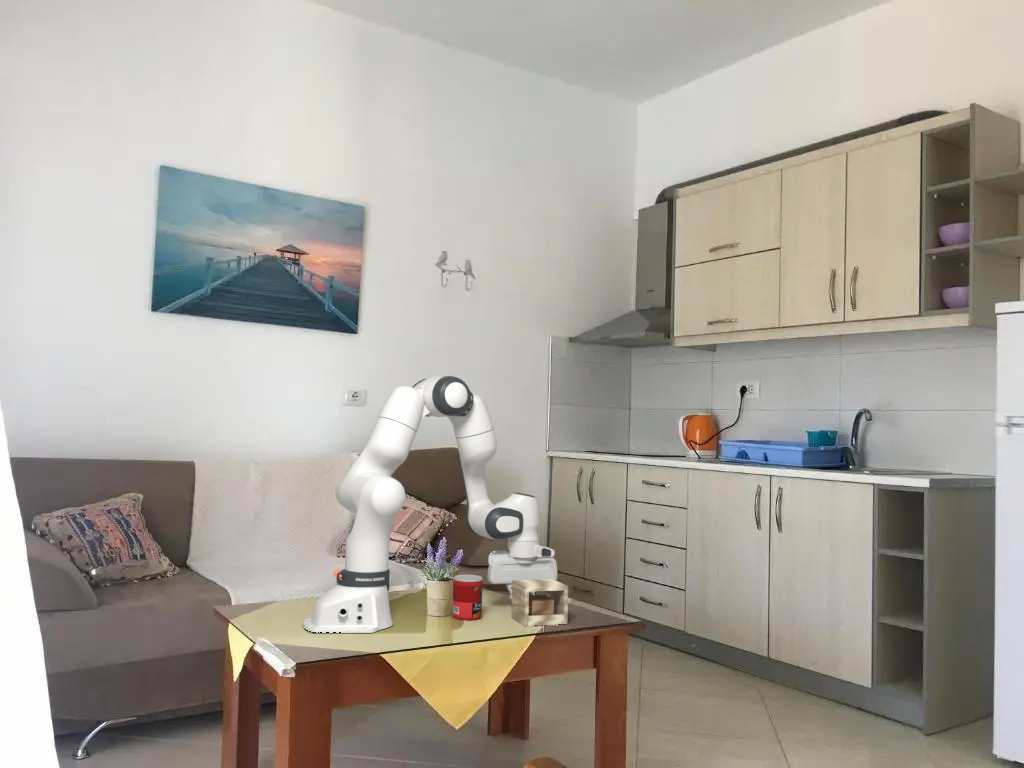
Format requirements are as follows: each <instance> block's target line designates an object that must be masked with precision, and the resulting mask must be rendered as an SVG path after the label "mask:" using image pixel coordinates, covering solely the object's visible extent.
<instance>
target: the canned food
mask: <svg viewBox="0 0 1024 768" xmlns="http://www.w3.org/2000/svg"><path fill="white" fill-rule="evenodd" d="M482 611H483V576H481V575H476V574H456V576H454V581H453V592H452V618H453V619H454V618H455V619H454V620H457V619H458V620H457V621H462V620H466V621H465V622H473V620H474V621H478V619H479V620H480V619H481V618H482Z"/></svg>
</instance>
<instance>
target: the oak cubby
mask: <svg viewBox="0 0 1024 768" xmlns="http://www.w3.org/2000/svg"><path fill="white" fill-rule="evenodd" d="M511 589H512V600H511V617H512V618H511V619H513V620H514V619H515V622H517V621H518V622H517V623H518V624H520V623H521V624H522V625H521V624H520V625H521V626H523V625H524V626H527V627H536V626H535V625H547V626H559V625H558V624H567V625H568V618H569V617H568V614H569V613H568V610H569V586H568V585H567V584H564V583H562V582H560V581H558V580H557V579H556V580H554V579H543V580H512V587H511ZM530 591H535V592H549V597H550V598H552V599H553V600H554V611H553V615H536V616H528V613H529V592H530ZM555 624H556V625H555ZM524 626H523V627H524Z"/></svg>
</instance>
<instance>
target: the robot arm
mask: <svg viewBox="0 0 1024 768" xmlns="http://www.w3.org/2000/svg"><path fill="white" fill-rule="evenodd" d="M425 417H435V418H444V417H447V419H449V421H450V423H451V425H452V426H453V432H454V437H455V442H456V444H457V449H458V450H457V451H458V454H459V458H460V459H459V460H460V465H461V466H460V467H461V474H462V479H463V486H464V491H465V497H466V511H465V517H464V519H465V525H466V528H467V530H468V531H469V532H470V533H471V534H472V535H473V536H475V537H481V538H487V539H491V540H495V541H496V540H497V541H500V540H506V539H507V549H505V550H504V549H503V550H498V549H497V550H495V549H494V550H493V551H492V552H491V551H490V553H489V554H488V555H487V564H488V567H487V568H488V570H487V576H486V577H487V581H488V582H489V584H492V585H505V587H506V589H507V590H508V592H509V599H510V600H511V601H512V580H543V579H554V580H556V581H557V579H558V566H557V565H558V564H557V561H556V559H555V554H556V552H555V549H553V548H551V547H548V546H546V545H545V544H544V545H543V544H540V543H539V542H540V540H539V539H540V537H539V533H538V531H539V530H538V529H539V526H540V507H539V505H540V504H539V501H538V499H537V498H536V496H534V495H532V494H528V493H522V492H512V493H511V495H509V497H507V498H505V499H503V500H502V501H500V502H497V503H495V504H494V503H493V502H492V501H491V500H490V498H489V494H488V488H487V483H486V476H485V470H486V467H487V465H488V464H489V462H490V461H492V459H493V458H494V456H495V455H496V453H497V447H498V445H497V436H496V432H495V429H494V424H493V420H492V417H491V414H490V411H489V409H488V407H487V404H486V402H485V400H484V398H483V397H482V396H481V395H478V394H475V393H473V392H472V391H471V390H470V388H469V386H468V384H466V382H465V380H463V379H461V378H460V377H456V376H453V375H446V376H439V375H438V376H432V377H429V378H423V379H421V380H419V381H417V382H416V383H415V384H414V385H412V386H410V385H400V386H396V387H394V389H393V390H392V391H391V392H390V394H389V395H388V397H387V399H386V400H385V402H384V404H383V406H382V408H381V409H380V411H379V414H378V416H377V419H376V421H375V423H374V426H373V428H372V431H371V433H370V436H369V437H368V440H367V442H366V444H365V446H364V447H363V449H362V451H361V452H360V453H359V455H358V457H357V459H356V460H355V462H354V463H353V464H352V465H351V467H350V469H349V470H348V471H347V472H346V473H345V474H344V475H343V476H342V477H341V478H339V480H338V482H337V484H336V486H335V497H336V500H337V502H338V503H339V504H340V505H341V506H342V507H343V508H344V509H346V510H347V511H348V512H351V513H354V514H355V518H354V522H353V526H352V528H351V531H350V533H349V534H348V536H347V537H346V539H345V560H344V561H345V562H344V563H345V564H344V569H342V570H340V569H339V568H335V570H333V575H334V577H335V578H336V585H334V586H333V587H332V588H330V589H329V590H328V591H326V592H324V594H322V595H321V596H320V597H319V598H317V600H316V601H315V603H314V607H313V609H312V610H313V611H312V616H311V617H307V618H305V619H304V620H303V624H302V626H304V627H303V629H304V628H305V629H306V630H308V631H307V632H309V631H311V632H310V633H312V632H316V633H315V634H327V633H326V632H329V633H328V634H334V633H333V632H336V633H335V634H368V633H369V634H370V633H371V634H372V633H376V632H378V631H380V630H384V629H388V628H390V627H392V626H393V625H394V622H393V619H392V618H393V617H392V614H391V607H390V599H389V596H390V595H389V591H390V587H391V569H389V560H390V542H391V536H392V530H393V528H394V525H395V524H394V523H395V521H396V517H397V515H398V513H399V512H401V510H402V508H403V507H404V504H405V501H406V491H405V488H404V486H403V484H402V483H401V482H400V481H399V480H397V479H396V478H394V477H393V474H394V473H395V471H396V470H397V469H398V468H399V467H400V466H401V465H402V464H403V463H404V462H405V461H406V460H407V458H408V455H409V453H410V451H411V447H412V445H413V442H414V439H415V437H416V435H417V433H418V429H419V428H420V424H421V423H422V421H423V419H424V418H425ZM535 593H536V591H530V592H529V595H535ZM305 629H304V630H305ZM306 630H305V631H306ZM318 632H319V633H318ZM320 632H322V633H320ZM339 632H341V633H339Z"/></svg>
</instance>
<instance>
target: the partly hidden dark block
mask: <svg viewBox="0 0 1024 768" xmlns="http://www.w3.org/2000/svg"><path fill="white" fill-rule="evenodd" d="M553 611H554V600H553V599H552V598H550V595H548V594H546V593H545V594H534V595H529V613H528V616H536V615H553Z"/></svg>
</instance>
